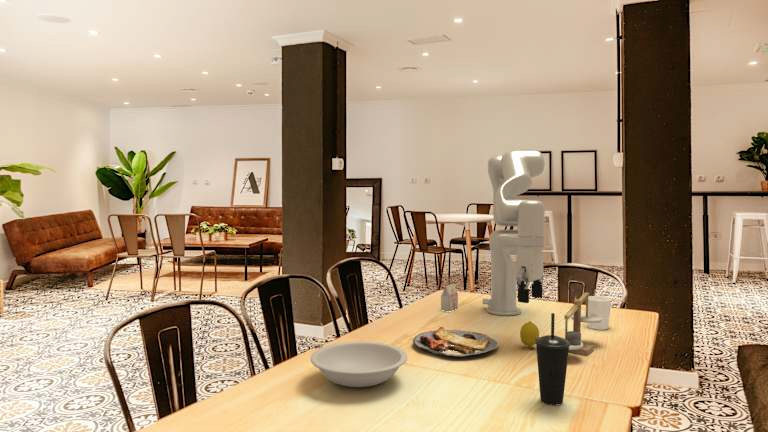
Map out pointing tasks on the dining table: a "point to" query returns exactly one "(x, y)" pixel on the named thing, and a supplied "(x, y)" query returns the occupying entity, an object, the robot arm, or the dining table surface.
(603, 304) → the white cup
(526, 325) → the lemon
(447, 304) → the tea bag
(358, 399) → the dining table surface
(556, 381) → the drinking cup
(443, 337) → the food plate
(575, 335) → the balance
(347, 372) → the soup bowl
